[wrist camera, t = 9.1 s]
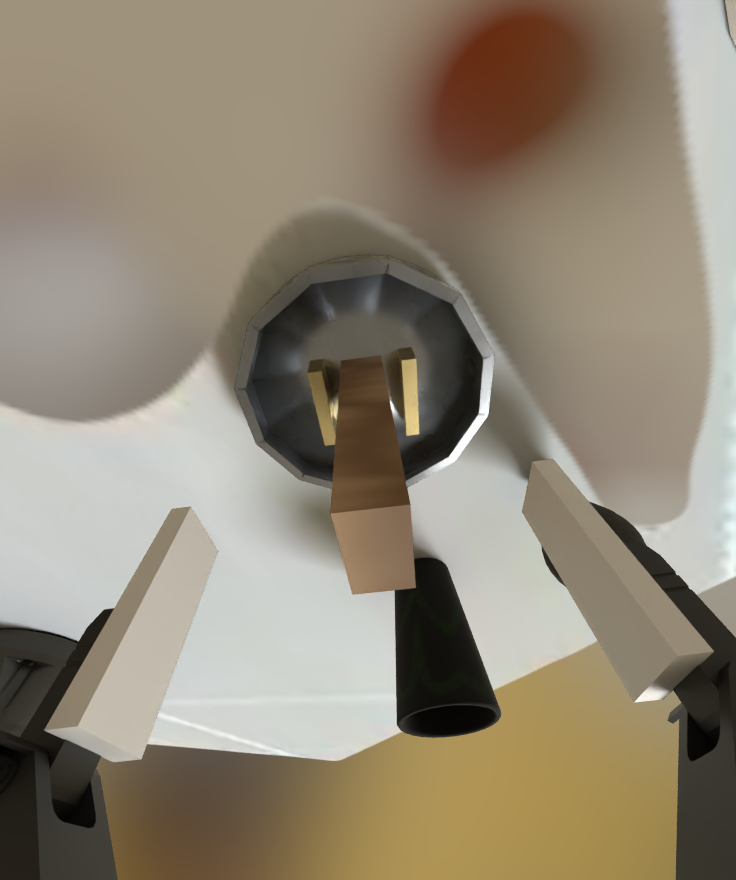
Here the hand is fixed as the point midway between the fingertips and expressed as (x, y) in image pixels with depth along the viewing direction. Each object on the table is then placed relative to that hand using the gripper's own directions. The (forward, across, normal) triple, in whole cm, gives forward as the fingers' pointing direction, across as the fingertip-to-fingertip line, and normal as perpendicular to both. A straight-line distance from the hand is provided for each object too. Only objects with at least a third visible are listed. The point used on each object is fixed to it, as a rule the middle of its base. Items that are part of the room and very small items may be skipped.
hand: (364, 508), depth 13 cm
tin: (+10, +1, 0) cm, 11 cm away
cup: (+11, +4, -22) cm, 25 cm away
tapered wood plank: (+10, +1, 0) cm, 10 cm away
